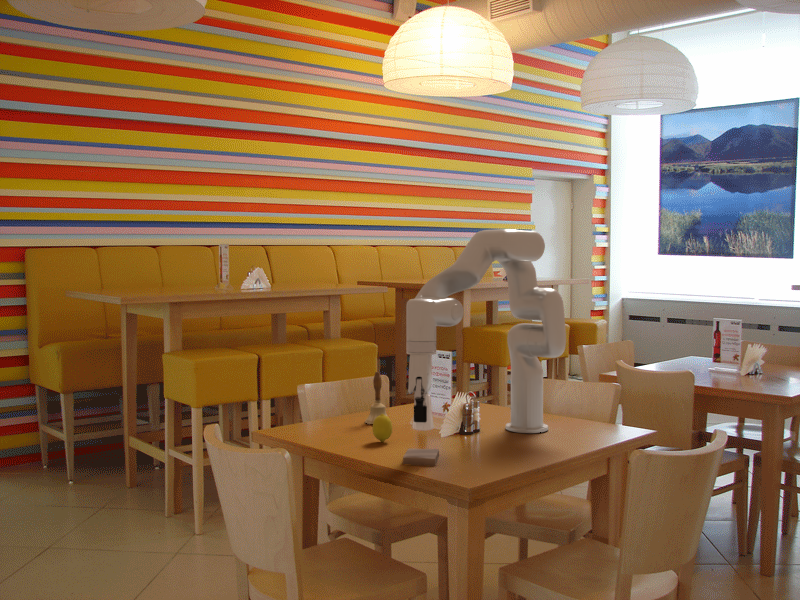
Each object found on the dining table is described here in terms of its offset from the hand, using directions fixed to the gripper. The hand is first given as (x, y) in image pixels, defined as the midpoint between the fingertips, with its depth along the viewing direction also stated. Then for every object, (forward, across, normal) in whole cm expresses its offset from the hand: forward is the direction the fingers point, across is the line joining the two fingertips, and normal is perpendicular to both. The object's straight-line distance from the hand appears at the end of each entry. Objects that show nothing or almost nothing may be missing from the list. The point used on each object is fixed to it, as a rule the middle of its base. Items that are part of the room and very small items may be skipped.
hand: (421, 419), depth 193 cm
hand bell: (+10, -45, -19) cm, 50 cm away
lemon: (+10, -18, -13) cm, 24 cm away
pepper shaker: (+2, 0, 0) cm, 3 cm away
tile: (+9, -4, 0) cm, 11 cm away
